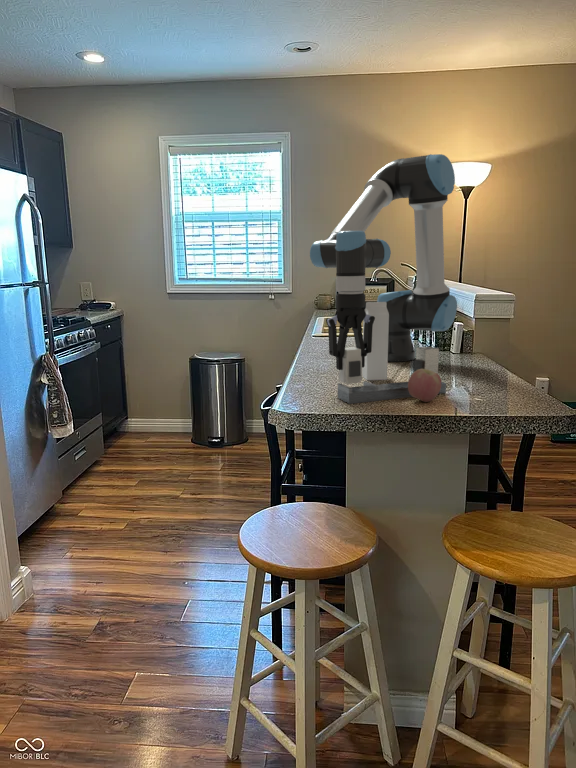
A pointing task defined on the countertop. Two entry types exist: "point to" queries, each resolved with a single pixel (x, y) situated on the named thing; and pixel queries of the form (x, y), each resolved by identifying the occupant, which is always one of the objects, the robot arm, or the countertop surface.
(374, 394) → the rail
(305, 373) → the countertop surface
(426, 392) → the apple
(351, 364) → the short white pillar
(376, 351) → the milk
